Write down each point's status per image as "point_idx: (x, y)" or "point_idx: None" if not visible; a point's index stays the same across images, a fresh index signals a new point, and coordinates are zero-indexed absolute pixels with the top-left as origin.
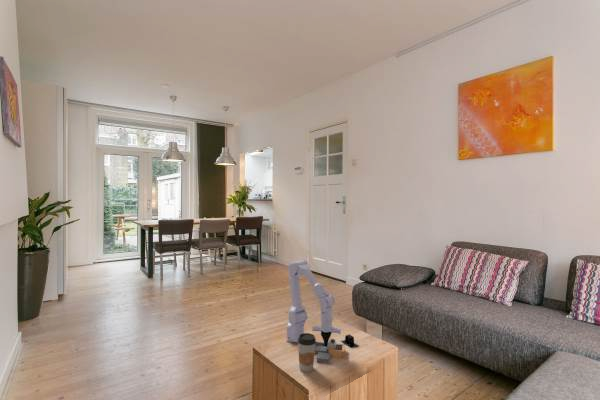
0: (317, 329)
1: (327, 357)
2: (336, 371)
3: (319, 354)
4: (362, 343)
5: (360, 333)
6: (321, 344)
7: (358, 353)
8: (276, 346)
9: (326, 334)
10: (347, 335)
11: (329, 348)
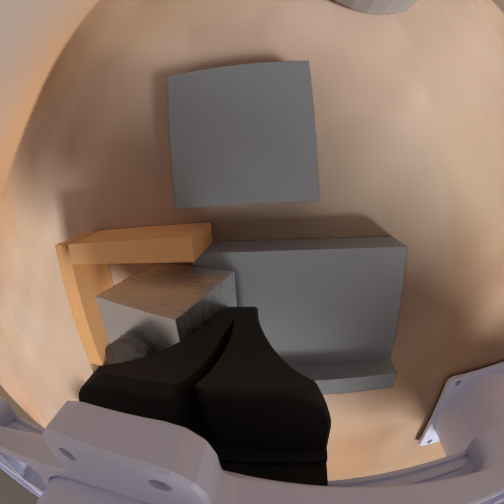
0: (440, 489)
1: (192, 107)
2: (121, 15)
3: (298, 145)
4: None
5: None
6: (307, 369)
7: (44, 320)
8: None
9: (159, 395)
10: None
11: (191, 276)
